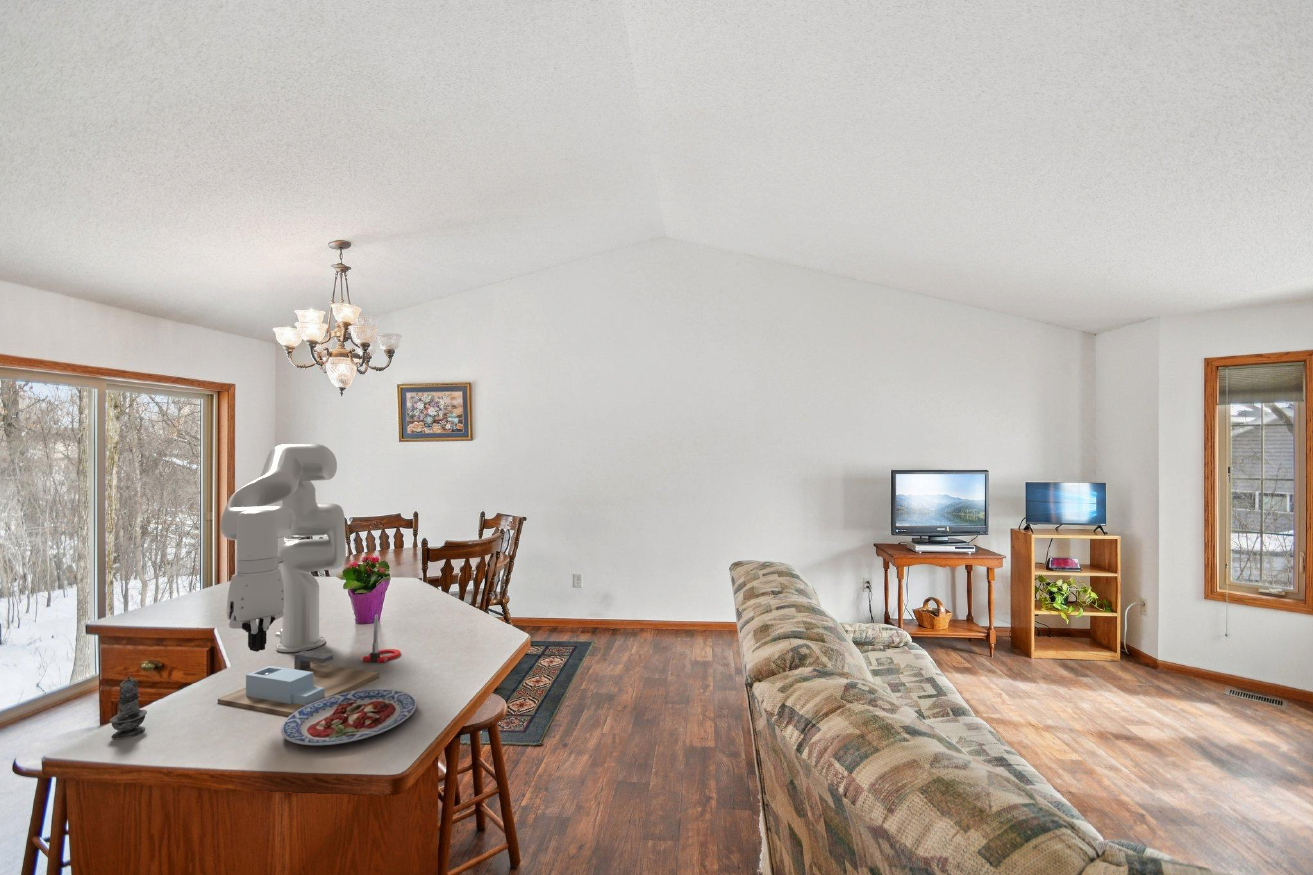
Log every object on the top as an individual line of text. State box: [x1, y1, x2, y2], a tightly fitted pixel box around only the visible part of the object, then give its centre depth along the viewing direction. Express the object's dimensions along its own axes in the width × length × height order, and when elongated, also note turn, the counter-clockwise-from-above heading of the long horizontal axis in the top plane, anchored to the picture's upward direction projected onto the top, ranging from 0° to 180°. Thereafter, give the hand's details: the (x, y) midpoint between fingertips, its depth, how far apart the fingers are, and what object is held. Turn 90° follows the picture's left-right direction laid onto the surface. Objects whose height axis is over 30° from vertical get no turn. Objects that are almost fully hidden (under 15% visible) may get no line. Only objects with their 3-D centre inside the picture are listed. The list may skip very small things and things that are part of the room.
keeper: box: [293, 650, 334, 671], centre depth 154 cm, size 10×3×4 cm, turn 71°
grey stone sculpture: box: [109, 675, 148, 740], centre depth 123 cm, size 6×6×12 cm
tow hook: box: [362, 614, 401, 663], centre depth 167 cm, size 8×13×9 cm
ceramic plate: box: [280, 688, 417, 746], centre depth 127 cm, size 26×26×3 cm
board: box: [217, 662, 380, 717], centre depth 145 cm, size 24×24×1 cm
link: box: [245, 665, 325, 705], centre depth 139 cm, size 18×6×5 cm, turn 71°
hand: (257, 649), depth 130 cm, fingers closed
